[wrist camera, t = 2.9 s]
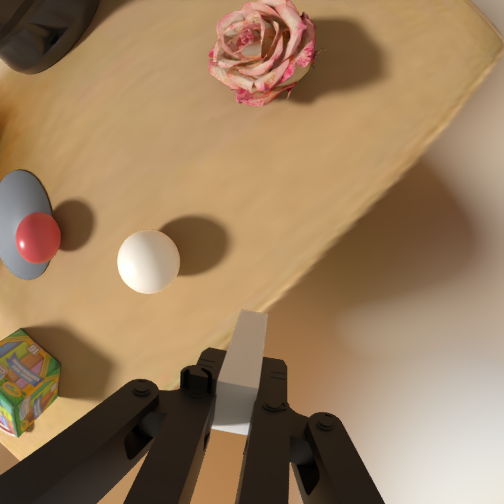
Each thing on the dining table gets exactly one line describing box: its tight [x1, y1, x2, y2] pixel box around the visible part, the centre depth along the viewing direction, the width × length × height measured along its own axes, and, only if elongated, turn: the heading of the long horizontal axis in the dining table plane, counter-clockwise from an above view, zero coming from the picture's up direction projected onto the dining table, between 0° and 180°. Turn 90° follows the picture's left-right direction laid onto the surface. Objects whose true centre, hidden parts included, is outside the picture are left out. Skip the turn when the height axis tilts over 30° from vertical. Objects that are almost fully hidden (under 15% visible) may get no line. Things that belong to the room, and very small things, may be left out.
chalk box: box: [0, 328, 61, 437], centre depth 26 cm, size 9×9×15 cm
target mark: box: [0, 170, 52, 280], centre depth 28 cm, size 14×14×1 cm
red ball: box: [16, 212, 61, 264], centre depth 25 cm, size 6×6×6 cm
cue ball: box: [117, 229, 180, 294], centre depth 24 cm, size 6×6×6 cm
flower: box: [209, 0, 326, 106], centre depth 19 cm, size 10×9×8 cm
